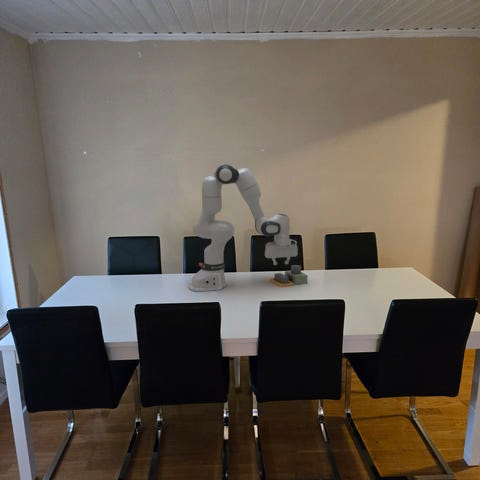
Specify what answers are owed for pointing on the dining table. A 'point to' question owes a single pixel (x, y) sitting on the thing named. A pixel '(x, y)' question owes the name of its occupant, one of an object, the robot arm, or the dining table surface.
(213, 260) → the robot arm
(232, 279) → the dining table surface
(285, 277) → the dark grey block
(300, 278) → the grey and tan shapes
